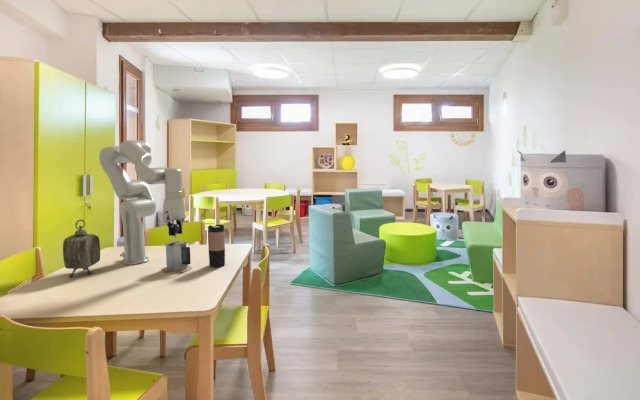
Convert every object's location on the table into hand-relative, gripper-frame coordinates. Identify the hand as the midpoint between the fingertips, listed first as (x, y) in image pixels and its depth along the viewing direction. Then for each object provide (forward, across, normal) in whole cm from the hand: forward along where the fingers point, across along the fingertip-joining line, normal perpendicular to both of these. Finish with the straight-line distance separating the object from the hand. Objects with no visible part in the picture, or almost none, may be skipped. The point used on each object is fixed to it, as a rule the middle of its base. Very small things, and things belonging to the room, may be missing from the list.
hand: (175, 234), depth 191 cm
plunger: (+11, 0, 0) cm, 11 cm away
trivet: (+17, 0, 0) cm, 17 cm away
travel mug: (+17, -12, +14) cm, 25 cm away
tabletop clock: (+17, +20, -36) cm, 44 cm away
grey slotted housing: (+17, 0, +1) cm, 17 cm away
